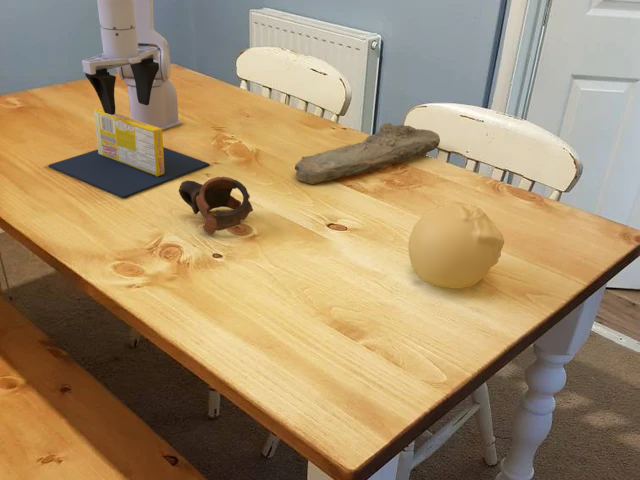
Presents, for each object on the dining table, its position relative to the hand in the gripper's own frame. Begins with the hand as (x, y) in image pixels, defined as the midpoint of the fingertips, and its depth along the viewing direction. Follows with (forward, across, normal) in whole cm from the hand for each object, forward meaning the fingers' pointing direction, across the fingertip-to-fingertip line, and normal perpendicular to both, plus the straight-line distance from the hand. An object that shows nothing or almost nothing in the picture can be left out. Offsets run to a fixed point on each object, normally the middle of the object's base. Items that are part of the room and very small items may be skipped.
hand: (127, 108), depth 121 cm
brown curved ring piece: (+10, -8, -29) cm, 31 cm away
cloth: (+10, -2, -2) cm, 10 cm away
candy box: (+9, -2, -2) cm, 10 cm away
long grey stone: (+10, +30, -33) cm, 45 cm away
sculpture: (+10, +1, -65) cm, 65 cm away
